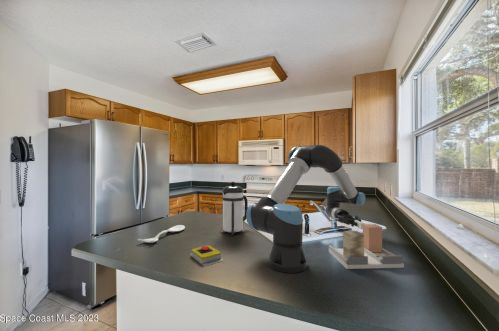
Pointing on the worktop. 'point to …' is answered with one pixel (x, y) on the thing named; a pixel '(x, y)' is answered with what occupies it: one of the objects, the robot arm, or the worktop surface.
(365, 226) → the terracotta slider
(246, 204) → the coffee press
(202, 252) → the emergency button
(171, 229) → the spoon
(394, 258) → the base
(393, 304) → the worktop surface
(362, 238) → the maple slider
